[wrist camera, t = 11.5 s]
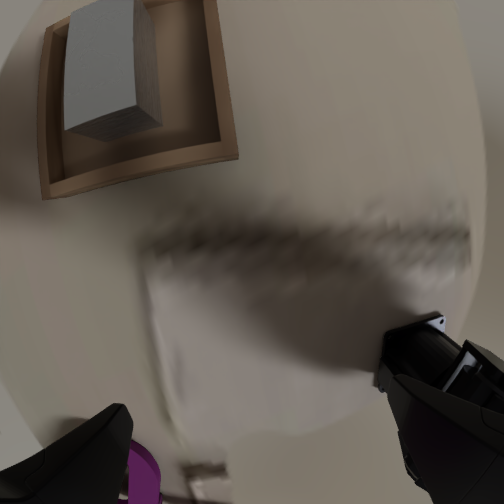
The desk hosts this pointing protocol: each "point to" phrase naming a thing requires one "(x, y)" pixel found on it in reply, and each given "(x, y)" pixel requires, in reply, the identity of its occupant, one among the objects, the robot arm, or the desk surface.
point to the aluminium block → (111, 71)
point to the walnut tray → (172, 105)
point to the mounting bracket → (142, 477)
